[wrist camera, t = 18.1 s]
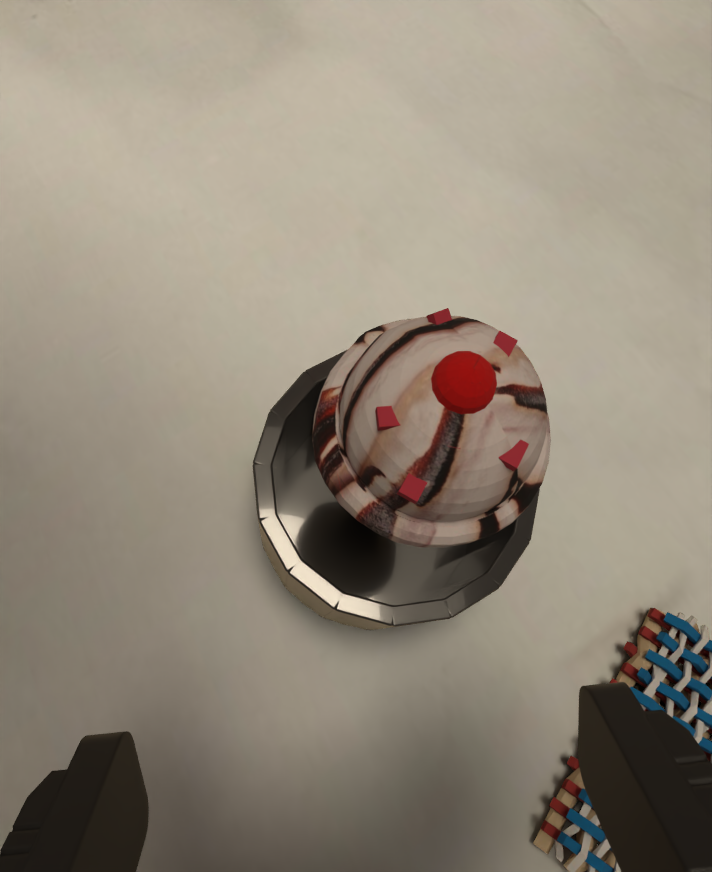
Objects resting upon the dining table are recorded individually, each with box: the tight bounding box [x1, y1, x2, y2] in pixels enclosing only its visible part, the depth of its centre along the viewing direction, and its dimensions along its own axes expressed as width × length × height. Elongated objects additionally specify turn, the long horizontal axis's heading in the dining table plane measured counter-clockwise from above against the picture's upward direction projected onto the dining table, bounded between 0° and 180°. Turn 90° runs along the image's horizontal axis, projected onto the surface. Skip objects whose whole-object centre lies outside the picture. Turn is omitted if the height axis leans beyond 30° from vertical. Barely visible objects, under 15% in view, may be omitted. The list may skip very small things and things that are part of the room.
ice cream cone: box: [312, 308, 551, 547], centre depth 20 cm, size 6×6×15 cm
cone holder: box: [253, 350, 540, 630], centre depth 24 cm, size 9×9×6 cm
